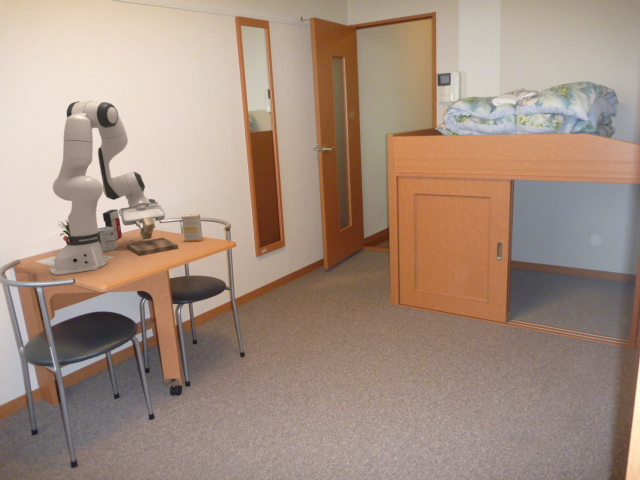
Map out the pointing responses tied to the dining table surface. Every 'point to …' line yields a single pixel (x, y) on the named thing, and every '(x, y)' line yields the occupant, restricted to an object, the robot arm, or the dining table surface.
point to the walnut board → (152, 246)
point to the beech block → (147, 228)
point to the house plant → (65, 228)
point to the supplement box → (192, 227)
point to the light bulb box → (107, 238)
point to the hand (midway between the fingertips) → (148, 228)
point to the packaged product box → (113, 222)
